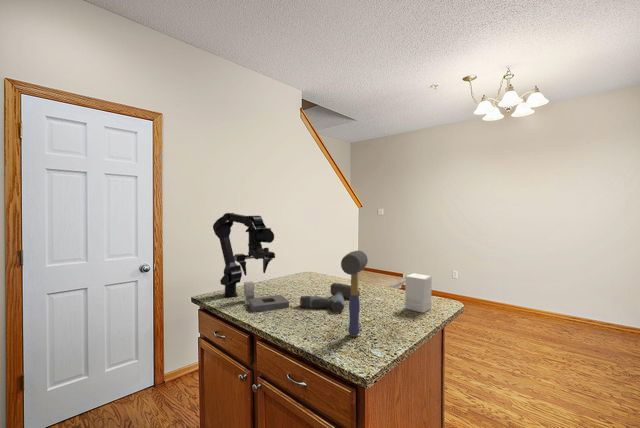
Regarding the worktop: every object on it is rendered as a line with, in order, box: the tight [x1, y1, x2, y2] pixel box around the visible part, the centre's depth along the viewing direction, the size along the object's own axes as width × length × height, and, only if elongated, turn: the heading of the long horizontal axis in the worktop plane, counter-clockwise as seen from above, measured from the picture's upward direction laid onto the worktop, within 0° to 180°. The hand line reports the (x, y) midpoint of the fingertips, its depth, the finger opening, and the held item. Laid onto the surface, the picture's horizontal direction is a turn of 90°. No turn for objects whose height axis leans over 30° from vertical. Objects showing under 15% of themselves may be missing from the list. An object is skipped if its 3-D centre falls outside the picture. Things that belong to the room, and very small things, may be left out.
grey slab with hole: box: [248, 294, 290, 313], centre depth 134 cm, size 12×16×2 cm
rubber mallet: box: [340, 250, 369, 337], centre depth 103 cm, size 12×8×30 cm, turn 158°
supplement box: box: [404, 273, 432, 313], centre depth 132 cm, size 9×9×15 cm
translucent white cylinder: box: [243, 281, 255, 304], centre depth 140 cm, size 4×4×9 cm
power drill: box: [299, 292, 345, 314], centre depth 136 cm, size 5×19×20 cm
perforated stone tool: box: [329, 282, 361, 299], centre depth 148 cm, size 15×5×7 cm, turn 68°
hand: (255, 274), depth 139 cm, fingers open, 9 cm apart
